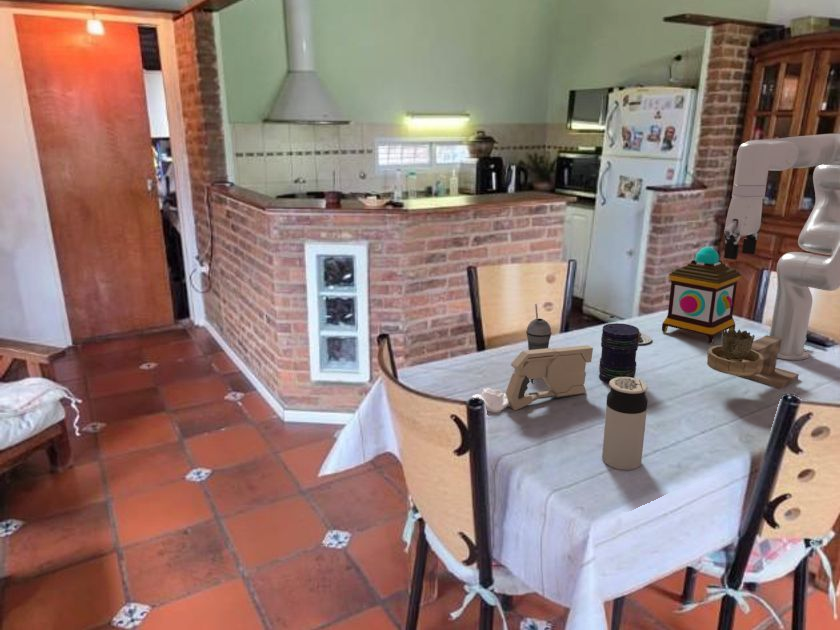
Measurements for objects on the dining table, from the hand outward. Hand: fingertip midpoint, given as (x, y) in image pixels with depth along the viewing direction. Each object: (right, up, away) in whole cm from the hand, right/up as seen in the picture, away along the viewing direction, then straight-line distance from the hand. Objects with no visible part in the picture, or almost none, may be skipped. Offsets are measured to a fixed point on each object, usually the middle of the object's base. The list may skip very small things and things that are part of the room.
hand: (739, 256), depth 158 cm
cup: (-4, -28, -5) cm, 29 cm away
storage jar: (-30, -34, +9) cm, 46 cm away
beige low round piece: (-15, -25, +39) cm, 49 cm away
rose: (-68, -39, -5) cm, 78 cm away
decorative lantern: (+9, -22, +44) cm, 50 cm away
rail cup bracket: (+3, -35, +2) cm, 35 cm away
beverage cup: (-51, -32, +17) cm, 63 cm away
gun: (-52, -38, -3) cm, 65 cm away
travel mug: (-43, -47, -32) cm, 72 cm away
